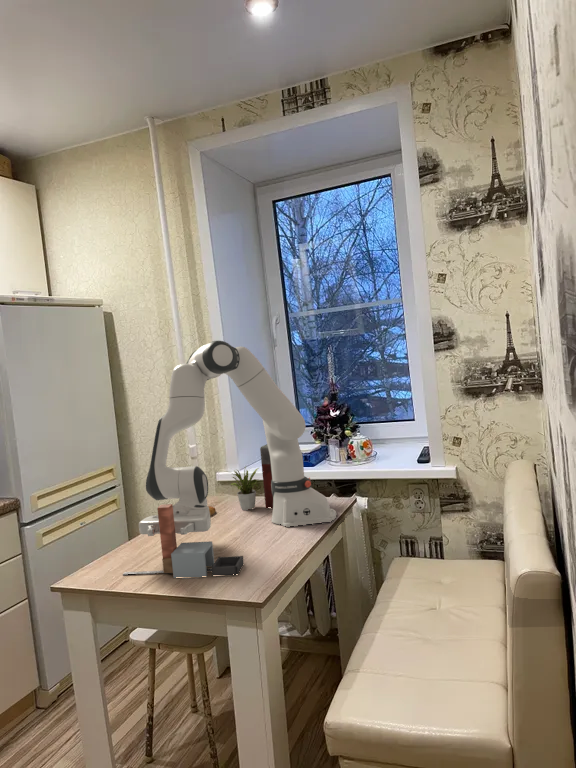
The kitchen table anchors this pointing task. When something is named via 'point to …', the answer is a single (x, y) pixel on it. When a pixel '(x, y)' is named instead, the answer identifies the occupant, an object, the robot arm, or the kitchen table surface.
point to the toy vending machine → (266, 475)
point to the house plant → (246, 490)
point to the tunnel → (192, 559)
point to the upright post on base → (167, 535)
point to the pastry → (212, 510)
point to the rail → (148, 572)
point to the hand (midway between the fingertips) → (166, 532)
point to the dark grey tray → (227, 565)
